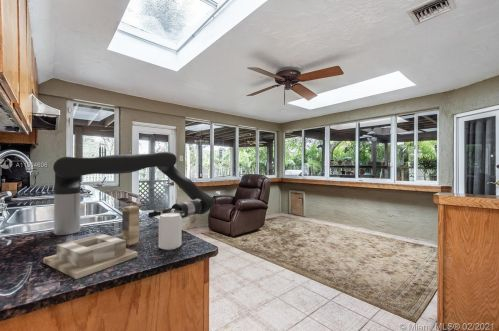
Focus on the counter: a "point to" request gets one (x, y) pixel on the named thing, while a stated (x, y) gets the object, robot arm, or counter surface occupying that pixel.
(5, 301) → the counter surface
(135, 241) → the tan long rectangular block
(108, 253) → the wooden socket base
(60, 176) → the robot arm
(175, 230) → the beverage can
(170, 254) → the counter surface
